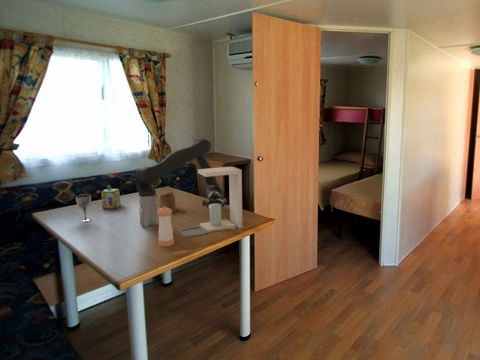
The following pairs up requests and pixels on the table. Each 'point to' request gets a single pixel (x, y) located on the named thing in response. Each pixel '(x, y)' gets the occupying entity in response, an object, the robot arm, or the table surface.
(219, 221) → the pale grey cylinder
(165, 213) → the pepper shaker
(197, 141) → the robot arm
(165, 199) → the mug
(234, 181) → the white c-shaped stand
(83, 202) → the wine glass
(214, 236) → the table surface
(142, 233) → the table surface
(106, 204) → the decorated lidded jar
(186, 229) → the tray
